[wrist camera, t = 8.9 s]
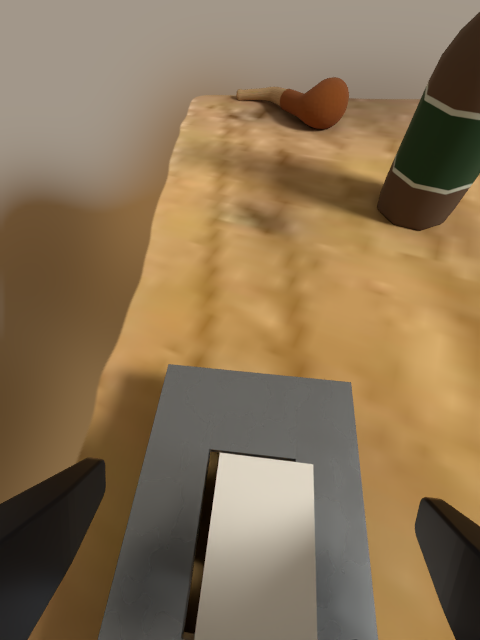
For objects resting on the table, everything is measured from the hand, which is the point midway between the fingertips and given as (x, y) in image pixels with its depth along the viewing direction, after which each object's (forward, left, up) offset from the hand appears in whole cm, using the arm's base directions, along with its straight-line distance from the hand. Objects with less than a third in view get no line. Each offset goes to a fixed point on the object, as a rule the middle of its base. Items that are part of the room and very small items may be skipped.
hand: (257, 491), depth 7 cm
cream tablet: (-1, 0, -13) cm, 13 cm away
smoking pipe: (+49, +17, -13) cm, 53 cm away
